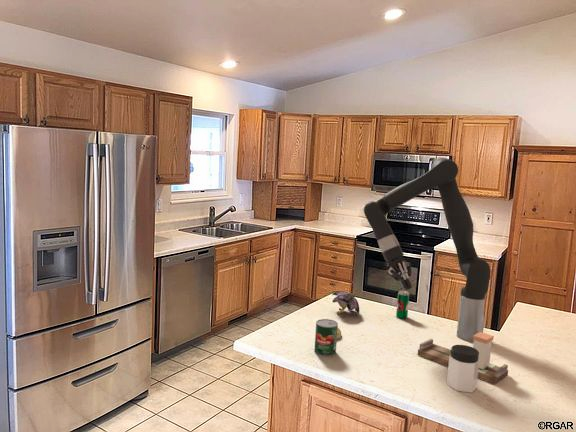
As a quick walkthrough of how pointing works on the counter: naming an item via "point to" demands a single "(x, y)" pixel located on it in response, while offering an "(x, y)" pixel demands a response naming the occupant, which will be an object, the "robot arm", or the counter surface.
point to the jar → (463, 368)
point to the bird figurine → (346, 301)
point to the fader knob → (483, 348)
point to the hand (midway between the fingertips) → (408, 288)
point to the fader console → (442, 357)
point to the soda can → (402, 304)
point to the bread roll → (338, 333)
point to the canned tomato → (326, 337)
